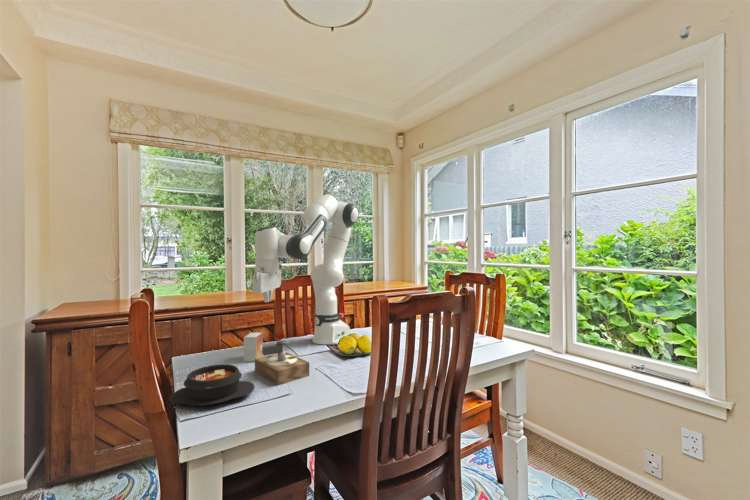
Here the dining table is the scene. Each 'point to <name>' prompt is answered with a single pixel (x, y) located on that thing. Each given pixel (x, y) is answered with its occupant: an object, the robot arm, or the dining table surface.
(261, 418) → the dining table surface
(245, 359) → the small box
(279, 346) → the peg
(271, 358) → the dial block
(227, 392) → the casserole
